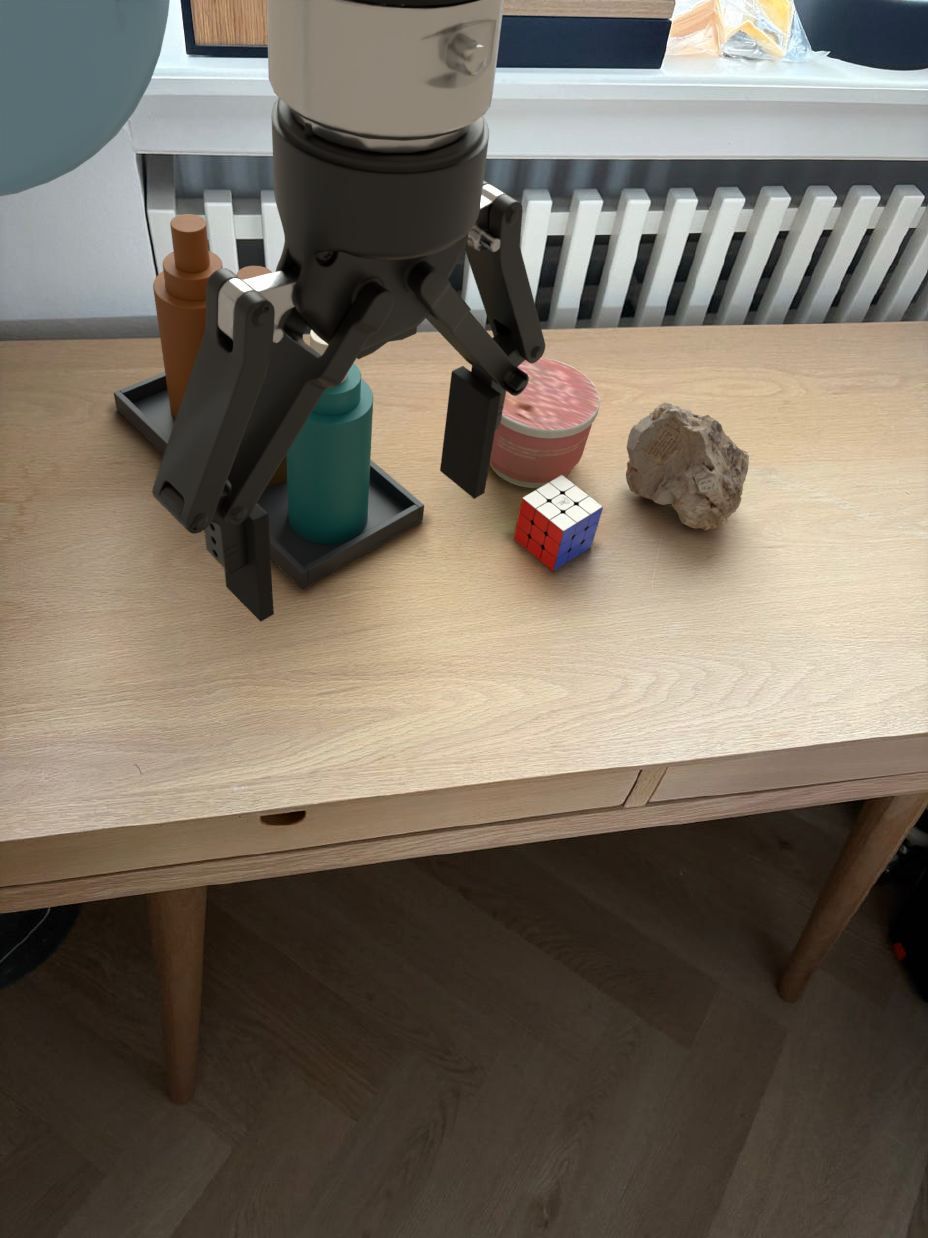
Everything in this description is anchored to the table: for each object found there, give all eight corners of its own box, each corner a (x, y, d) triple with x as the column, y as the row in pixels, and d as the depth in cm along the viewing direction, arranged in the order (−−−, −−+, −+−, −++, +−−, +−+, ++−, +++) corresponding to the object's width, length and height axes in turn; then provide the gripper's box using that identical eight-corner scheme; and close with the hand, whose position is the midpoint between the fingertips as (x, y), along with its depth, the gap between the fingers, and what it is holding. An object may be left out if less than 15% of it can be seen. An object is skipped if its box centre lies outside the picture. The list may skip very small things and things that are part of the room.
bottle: (321, 556, 86) (321, 373, 71) (272, 510, 88) (263, 326, 74) (383, 521, 89) (395, 340, 75) (334, 478, 92) (337, 296, 78)
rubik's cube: (512, 538, 90) (521, 497, 86) (552, 514, 92) (562, 473, 89) (552, 572, 88) (562, 531, 84) (592, 547, 90) (604, 507, 87)
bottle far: (197, 441, 93) (175, 254, 79) (156, 402, 96) (127, 215, 82) (259, 413, 96) (248, 229, 82) (217, 376, 99) (200, 192, 85)
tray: (302, 590, 84) (301, 573, 82) (116, 409, 95) (113, 392, 94) (423, 521, 90) (424, 504, 89) (235, 360, 102) (234, 343, 100)
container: (502, 410, 101) (514, 342, 95) (599, 450, 99) (617, 383, 93) (453, 469, 95) (462, 400, 89) (555, 514, 93) (572, 446, 86)
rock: (700, 567, 94) (786, 493, 90) (626, 511, 87) (717, 428, 83) (661, 507, 100) (740, 436, 97) (589, 451, 93) (672, 371, 90)
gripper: (113, 264, 27) (191, 716, 43) (692, 69, 40) (584, 477, 56) (-23, 146, 30) (97, 609, 46) (553, 0, 43) (489, 405, 59)
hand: (363, 538), depth 51 cm, fingers open, 13 cm apart
